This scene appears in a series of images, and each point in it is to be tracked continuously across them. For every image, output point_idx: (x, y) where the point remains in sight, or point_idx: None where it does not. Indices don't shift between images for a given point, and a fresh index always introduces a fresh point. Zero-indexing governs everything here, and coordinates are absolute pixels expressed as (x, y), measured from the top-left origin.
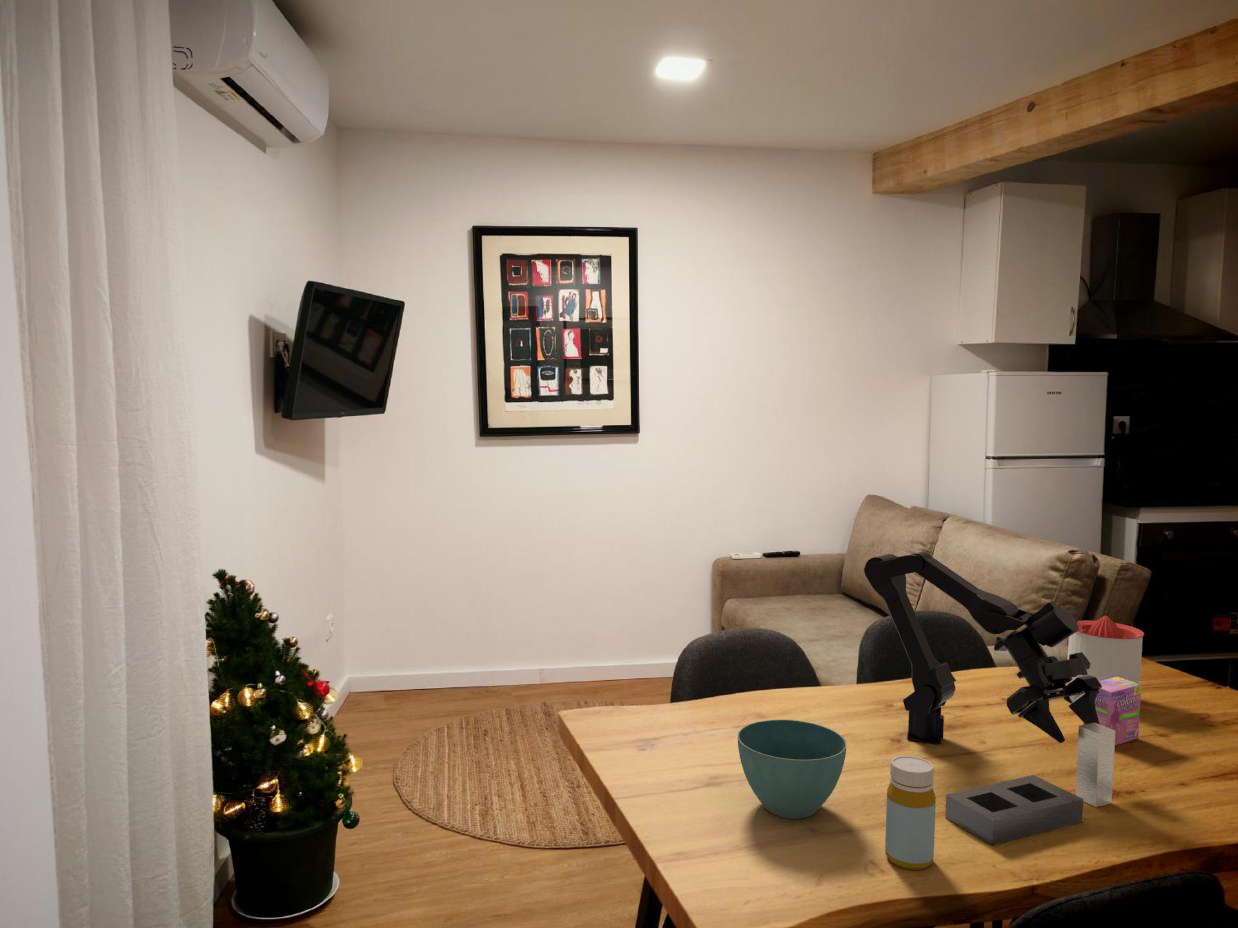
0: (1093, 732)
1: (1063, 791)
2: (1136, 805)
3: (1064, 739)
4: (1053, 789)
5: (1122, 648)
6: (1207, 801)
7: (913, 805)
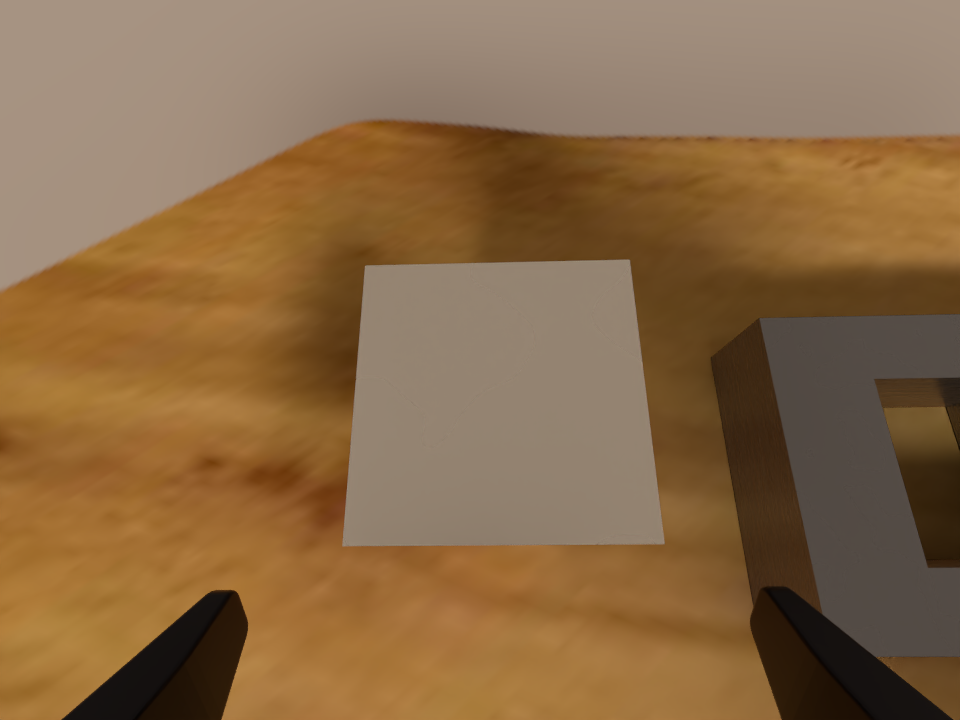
0: (633, 332)
1: (802, 411)
2: None
3: (776, 588)
4: (839, 450)
5: None
6: (92, 303)
7: None
